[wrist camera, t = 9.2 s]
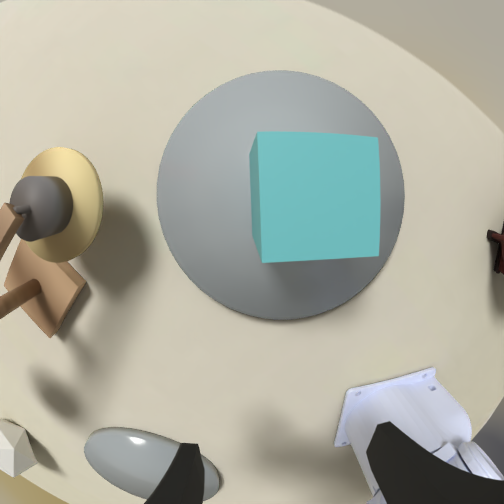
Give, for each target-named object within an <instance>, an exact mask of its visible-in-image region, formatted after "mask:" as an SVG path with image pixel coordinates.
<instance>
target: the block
mask: <svg viewBox="0 0 504 504" xmlns="http://www.w3.org/2000/svg"><path fill="white" fill-rule="evenodd" d="M249 165H250V191H251V216H252V236H253V239H254V242H255V245H256V248H257V250H258V253H259V256H260V259H261V262H262V263H270V262H289V261H307V260H324V259H341V258H357V257H373V256H379V242H380V162H379V145H378V138H377V137H368V136H359V135H347V134H334V133H317V132H280V131H268V132H257V133H256V136H255V139H254V142H253V145H252V148H251V150H250V153H249Z"/></svg>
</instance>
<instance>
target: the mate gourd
mask: <svg viewBox="0 0 504 504" xmlns="http://www.w3.org/2000/svg"><path fill="white" fill-rule="evenodd" d="M487 238H488V239H490V240H492V241H495V242H497V243H499V249H498V253H497V258H496V262H495V266H494V271H495V272H496V273H500V272H502V273H503V274H504V223H503V229H502V233H501V234H499V233H497V232H495V231H492V230H488V232H487Z"/></svg>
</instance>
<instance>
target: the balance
mask: <svg viewBox="0 0 504 504" xmlns="http://www.w3.org/2000/svg"><path fill="white" fill-rule="evenodd" d="M102 214H103V192H102V187H101V182H100V179H99V176H98V174H97V172H96V169H95V168H94V166H93V165H92V163H91V162H90V161H89V160H88V158H86V157H85V156H84V155H83V154H81V153H80V152H78V151H76V150H73V149H68V148H63V147H55V148H50V149H48V150H45V151H43V152H42V153H40V154H39V155H38V156H36V157H35V158H34V159H33V160H32V161H31V163H30V164H29V165H28V167H27V168H26V170H25V172H24V174H23V176H22V178H21V180H20V181H19V182H18V183H17V184H16V186H15V187H14V189H13V192H12V194H11V198H10V204H8V203H4V204H3V206H2V208H1V209H0V260H1V258H2V257H3V255H4V253H5V251H6V249H7V247H8V246H9V244H10V242H11V240H12V239H13V237H14V235H15V233H16V234H17V235H18V236H19V237H20V238H21V241H20V243H19V246H18V248H17V250H16V253H15V255H14V258H13V261H12V263H11V266H10V269H9V271H8V274H7V277H6V280H5V283H4V286H5V288H6V289H7V290H8V292H7V293H6V294H4V295H2V296H0V319H1V318H3V317H4V316H6V315H7V314H9V313H10V312H12V311H13V310H15V309H16V308H18V307H19V306H21V308H22V309H23V310H24V311H25V312H26V313H27V314H28V316H29V317H30V318H31V319H32V320H33V321H34V322H35V323H36V324H37V325H38V327H39V328H40V329H41V330H42V331H43V332H44V333H45V334H46V335H47V336H48V337H49V338H51V337H52V336H53V335H54V334H56V333H57V332H58V330H59V328H60V326H61V324H62V322H63V320H64V319H65V317H66V315H67V313H68V312H69V310H70V308H71V306H72V305H73V303H74V301H75V299H76V298H77V296H78V294H79V293H80V291H81V290H82V288H83V286H84V285H85V283H86V281H85V280H84V279H83V278H82V277H81V276H80V275H79V274H78V273H77V272H76V271H75V270H74V268H73V267H72V266H71V265H70V264H69V263H68V262H67V261H69V260H71V259H73V258H75V257H77V256H79V255H80V254H82V253H83V252H84V251H85V250H86V249H87V248H88V247H89V246H90V245H91V243H92V242H93V240H94V238H95V237H96V234H97V232H98V230H99V227H100V223H101V219H102Z"/></svg>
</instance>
